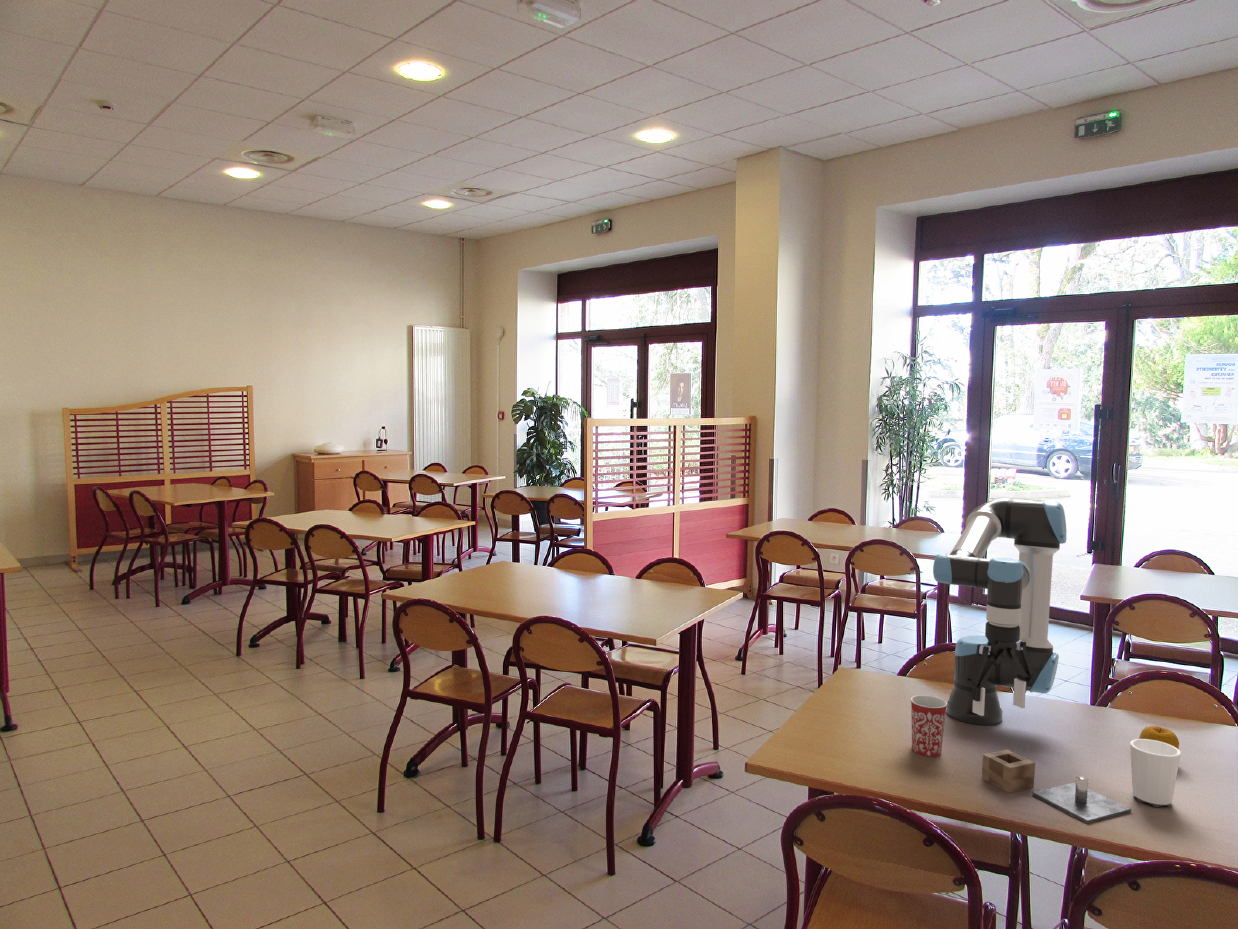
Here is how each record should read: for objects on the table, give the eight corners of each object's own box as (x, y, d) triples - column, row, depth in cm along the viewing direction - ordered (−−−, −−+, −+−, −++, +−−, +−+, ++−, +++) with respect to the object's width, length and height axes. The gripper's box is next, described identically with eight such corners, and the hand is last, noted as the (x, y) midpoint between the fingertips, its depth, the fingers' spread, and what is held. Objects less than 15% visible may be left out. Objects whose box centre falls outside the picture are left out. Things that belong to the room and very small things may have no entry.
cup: (1170, 795, 191) (1173, 742, 190) (1184, 814, 182) (1187, 759, 181) (1121, 788, 194) (1124, 736, 193) (1132, 806, 185) (1136, 752, 184)
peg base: (1074, 785, 195) (1075, 761, 195) (1131, 812, 182) (1132, 786, 182) (1032, 795, 190) (1033, 770, 189) (1087, 824, 177) (1088, 797, 176)
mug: (947, 760, 208) (949, 708, 208) (910, 756, 211) (912, 705, 210) (940, 741, 221) (942, 692, 220) (905, 737, 223) (907, 689, 222)
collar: (1006, 773, 201) (1007, 749, 201) (1033, 787, 194) (1035, 762, 194) (982, 778, 198) (983, 754, 198) (1009, 792, 191) (1010, 768, 190)
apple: (1141, 764, 207) (1143, 731, 207) (1134, 752, 215) (1136, 719, 215) (1181, 770, 204) (1183, 736, 204) (1172, 757, 212) (1174, 724, 212)
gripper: (1026, 615, 203) (1022, 698, 204) (951, 624, 193) (948, 711, 194) (1053, 622, 196) (1048, 708, 197) (977, 632, 186) (973, 722, 187)
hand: (998, 710), depth 196 cm, fingers open, 13 cm apart
